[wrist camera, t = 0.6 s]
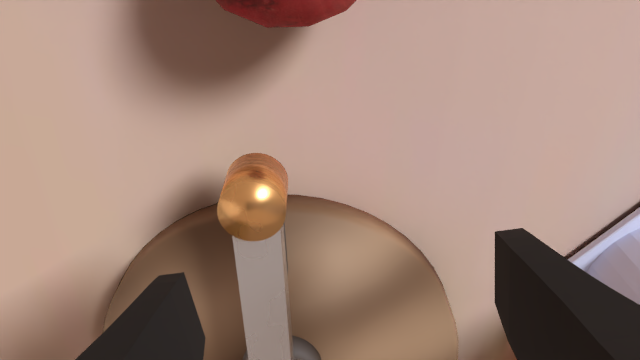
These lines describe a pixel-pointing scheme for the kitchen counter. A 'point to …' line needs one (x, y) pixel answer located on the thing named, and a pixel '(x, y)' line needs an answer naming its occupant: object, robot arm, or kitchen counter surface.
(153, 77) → the kitchen counter surface
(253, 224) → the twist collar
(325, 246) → the base
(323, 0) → the onion
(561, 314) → the robot arm
